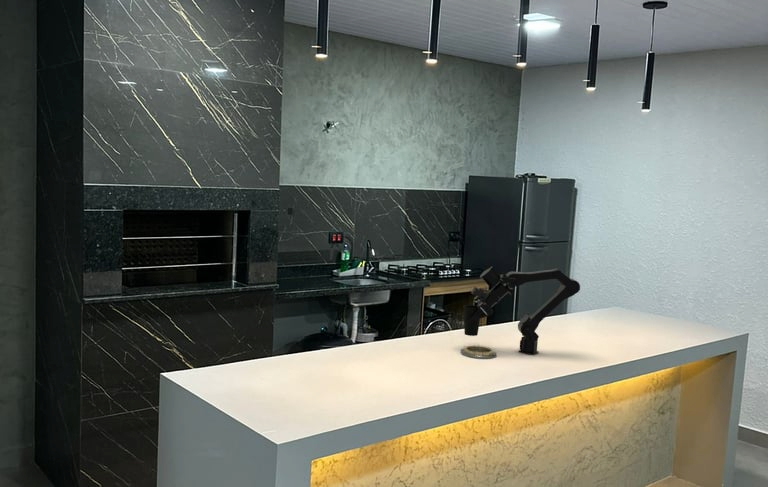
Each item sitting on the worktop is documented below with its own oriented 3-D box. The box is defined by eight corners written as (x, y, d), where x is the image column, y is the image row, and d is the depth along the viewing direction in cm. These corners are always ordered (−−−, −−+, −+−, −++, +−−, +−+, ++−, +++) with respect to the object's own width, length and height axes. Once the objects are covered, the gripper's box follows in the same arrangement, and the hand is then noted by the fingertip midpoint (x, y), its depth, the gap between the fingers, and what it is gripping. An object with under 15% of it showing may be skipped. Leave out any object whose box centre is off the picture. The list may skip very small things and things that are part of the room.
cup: (477, 337, 289) (479, 309, 288) (460, 335, 292) (461, 307, 291) (481, 333, 297) (483, 306, 295) (464, 331, 299) (465, 304, 298)
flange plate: (503, 354, 289) (503, 350, 289) (485, 361, 277) (485, 356, 277) (472, 347, 298) (472, 343, 298) (453, 353, 286) (454, 348, 286)
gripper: (479, 277, 301) (453, 301, 302) (486, 283, 283) (458, 309, 284) (496, 295, 302) (470, 319, 303) (504, 303, 284) (476, 328, 285)
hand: (468, 318), depth 294 cm, fingers closed on cup, 8 cm apart
